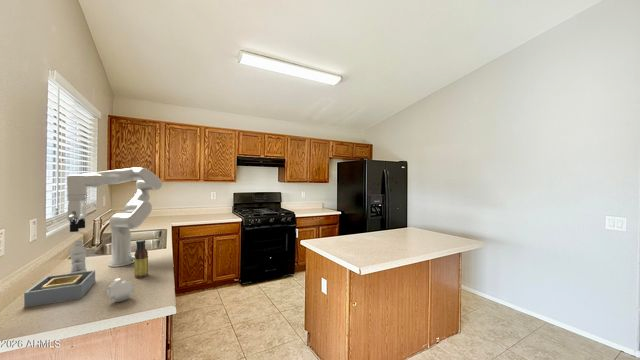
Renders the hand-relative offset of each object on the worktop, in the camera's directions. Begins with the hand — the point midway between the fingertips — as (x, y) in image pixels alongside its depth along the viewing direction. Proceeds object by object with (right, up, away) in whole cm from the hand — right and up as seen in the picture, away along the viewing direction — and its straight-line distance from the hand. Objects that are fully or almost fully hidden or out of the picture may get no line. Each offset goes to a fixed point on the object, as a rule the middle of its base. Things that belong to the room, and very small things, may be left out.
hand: (77, 229), depth 136 cm
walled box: (+9, -26, -16) cm, 32 cm away
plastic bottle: (0, -26, 0) cm, 26 cm away
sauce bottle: (+31, -26, +4) cm, 41 cm away
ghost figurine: (+41, -27, -23) cm, 54 cm away
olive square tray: (+9, -26, -16) cm, 32 cm away
